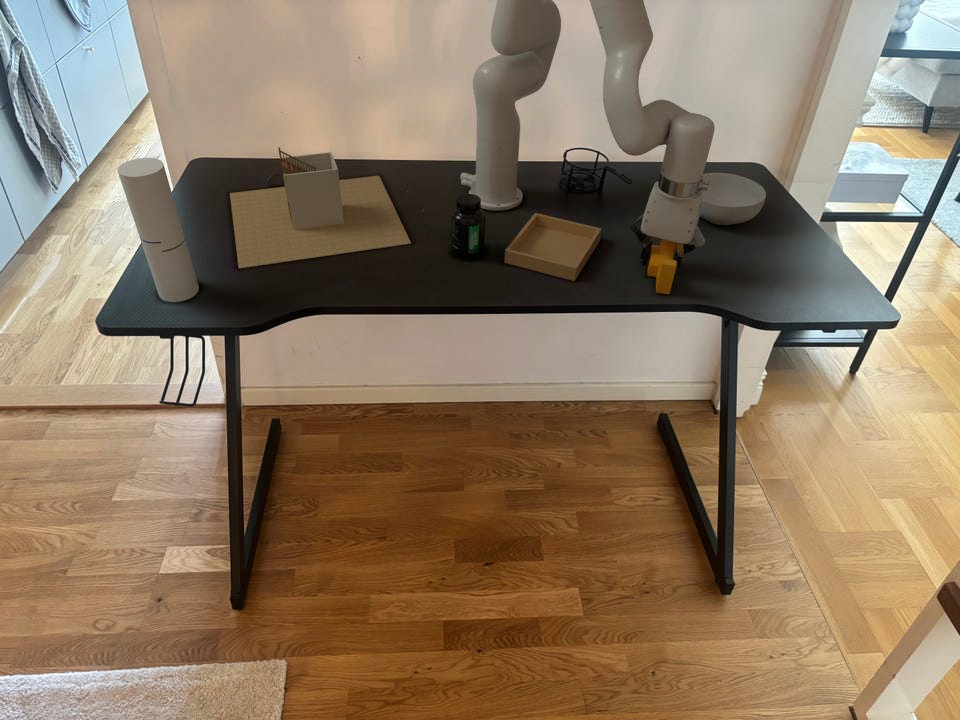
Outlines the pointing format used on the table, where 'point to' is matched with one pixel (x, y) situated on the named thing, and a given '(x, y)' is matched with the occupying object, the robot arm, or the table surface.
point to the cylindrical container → (159, 228)
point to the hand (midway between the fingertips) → (659, 265)
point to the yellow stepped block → (662, 265)
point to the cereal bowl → (730, 199)
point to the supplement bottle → (468, 227)
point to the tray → (553, 246)
